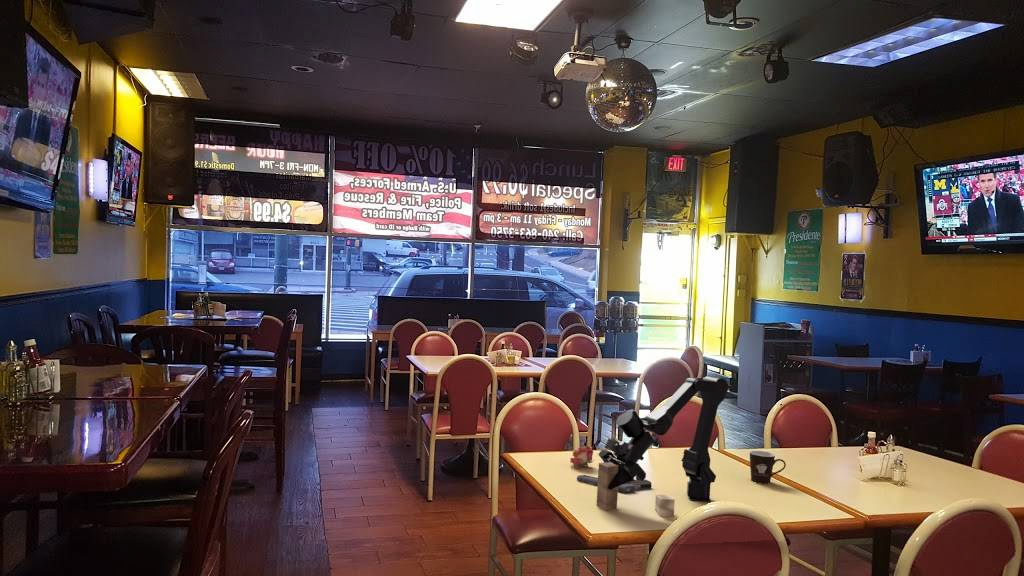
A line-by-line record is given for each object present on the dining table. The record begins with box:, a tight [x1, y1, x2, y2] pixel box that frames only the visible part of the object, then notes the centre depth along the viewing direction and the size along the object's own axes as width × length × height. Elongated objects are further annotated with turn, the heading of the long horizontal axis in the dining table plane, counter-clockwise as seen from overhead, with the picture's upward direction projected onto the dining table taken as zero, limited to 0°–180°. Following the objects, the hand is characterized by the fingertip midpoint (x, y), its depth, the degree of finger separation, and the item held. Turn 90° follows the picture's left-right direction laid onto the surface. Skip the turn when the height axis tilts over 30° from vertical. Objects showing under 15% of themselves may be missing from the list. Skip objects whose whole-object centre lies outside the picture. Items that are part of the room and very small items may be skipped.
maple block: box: [654, 494, 676, 517], centre depth 217 cm, size 4×4×5 cm
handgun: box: [576, 474, 652, 494], centre depth 246 cm, size 3×22×14 cm
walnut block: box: [596, 462, 619, 512], centre depth 220 cm, size 4×5×13 cm
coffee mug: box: [749, 450, 787, 485], centre depth 259 cm, size 12×9×10 cm
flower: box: [569, 445, 594, 469], centre depth 267 cm, size 10×9×8 cm
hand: (603, 486), depth 219 cm, fingers closed on walnut block, 5 cm apart
